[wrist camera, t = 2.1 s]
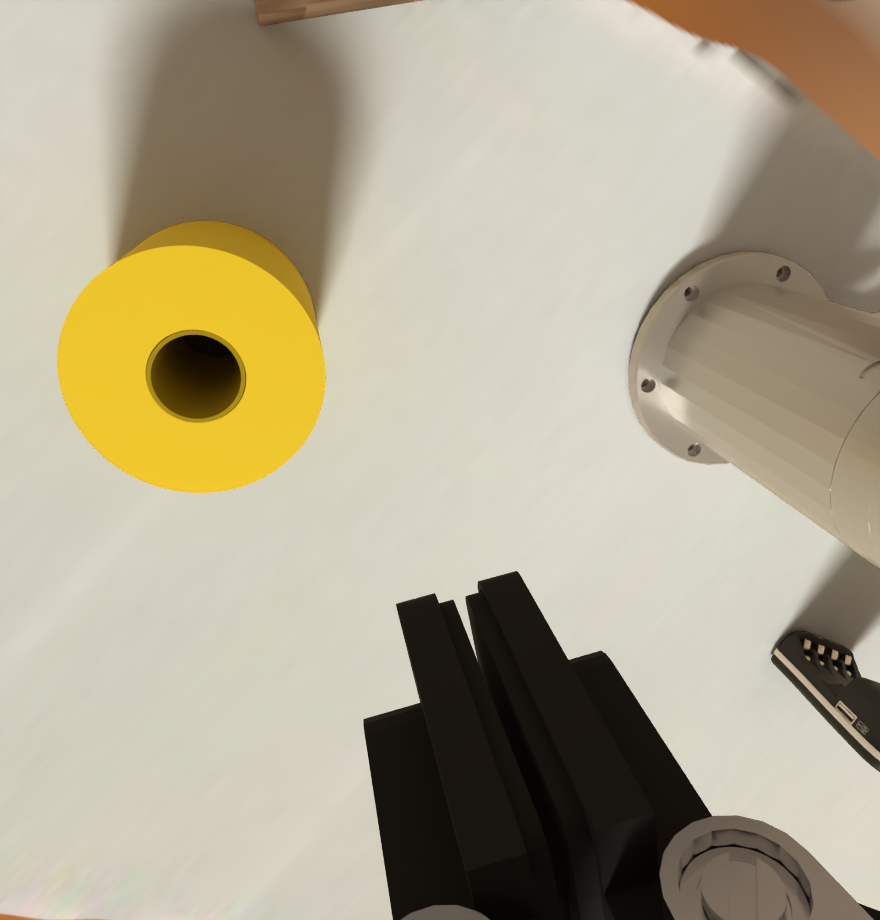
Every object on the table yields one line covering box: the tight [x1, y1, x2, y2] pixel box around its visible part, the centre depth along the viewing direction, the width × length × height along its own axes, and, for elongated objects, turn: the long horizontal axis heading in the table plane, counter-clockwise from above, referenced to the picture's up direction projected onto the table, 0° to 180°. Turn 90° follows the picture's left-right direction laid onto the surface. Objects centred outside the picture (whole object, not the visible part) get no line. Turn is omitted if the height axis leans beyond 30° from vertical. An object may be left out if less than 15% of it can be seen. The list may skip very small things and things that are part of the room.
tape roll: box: [57, 221, 325, 493], centre depth 33 cm, size 10×10×9 cm
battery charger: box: [771, 631, 880, 772], centre depth 50 cm, size 7×4×11 cm, turn 63°
